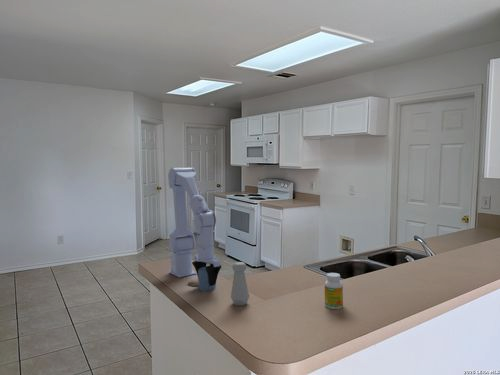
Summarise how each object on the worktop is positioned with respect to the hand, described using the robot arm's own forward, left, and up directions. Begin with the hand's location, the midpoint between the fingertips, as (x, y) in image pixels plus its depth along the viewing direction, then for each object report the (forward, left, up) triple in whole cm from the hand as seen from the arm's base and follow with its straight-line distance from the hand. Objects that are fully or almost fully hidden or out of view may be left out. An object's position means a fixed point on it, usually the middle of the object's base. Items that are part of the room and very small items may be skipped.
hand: (207, 282), depth 127 cm
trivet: (-7, 0, -2) cm, 7 cm away
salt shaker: (+20, 0, -2) cm, 20 cm away
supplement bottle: (+41, +20, -2) cm, 46 cm away
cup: (0, 0, -2) cm, 2 cm away
